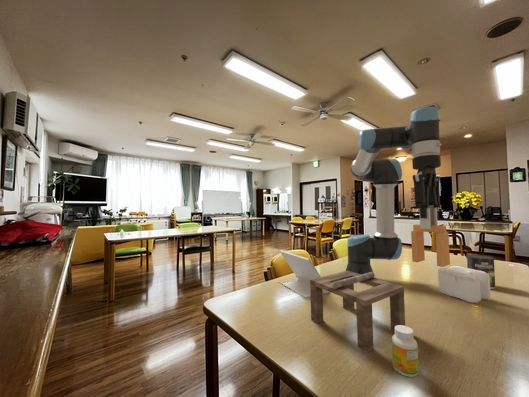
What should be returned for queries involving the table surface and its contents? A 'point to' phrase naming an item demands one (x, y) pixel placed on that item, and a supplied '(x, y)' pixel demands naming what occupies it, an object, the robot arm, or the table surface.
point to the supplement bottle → (405, 351)
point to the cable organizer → (464, 283)
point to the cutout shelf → (359, 301)
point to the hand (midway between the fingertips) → (428, 228)
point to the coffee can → (482, 266)
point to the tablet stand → (301, 274)
